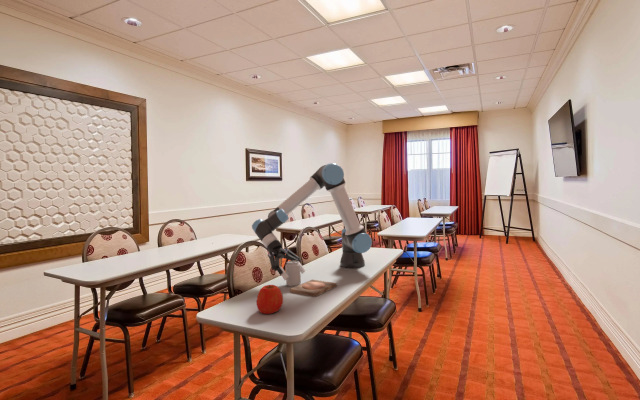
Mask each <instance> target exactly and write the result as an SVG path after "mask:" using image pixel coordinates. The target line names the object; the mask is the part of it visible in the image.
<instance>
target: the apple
mask: <svg viewBox="0 0 640 400" xmlns="http://www.w3.org/2000/svg"><path fill="white" fill-rule="evenodd" d="M283 303H284V297H283V293H282V291H281V288H279V287H278V286H277V285H274V284H267V285H264V286H262V287H261V288H260V289H259V291H258V293H257V297H256V307H257V310H258V311H259V312H260V314H264V315H270V314H273V313H277V312H278V311H279V310H280V309H281V307H282V306H283Z"/></svg>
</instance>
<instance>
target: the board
mask: <svg viewBox="0 0 640 400" xmlns="http://www.w3.org/2000/svg"><path fill="white" fill-rule="evenodd" d="M337 286H338V282H331V281H325V280H318V279H309V280H308V281H305V282H302V283H300V284H299V285H298V286H295V287H290V288H289V292H290V293H293V294H299V295H304V296H310V297H318V296H320V295H321V294H324V293H326V292H328V291H330V290H331V289H335V288H336V287H337Z"/></svg>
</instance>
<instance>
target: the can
mask: <svg viewBox="0 0 640 400" xmlns="http://www.w3.org/2000/svg"><path fill="white" fill-rule="evenodd" d="M284 271H285V272H286V274H287V275H288V276H289V277H288V278H287V279H286V280H285V284H286V285H287V287H290V288H293V287H296V286H298V285H300V284H302V280H301V277H302V276H301V275H302V274H301V272H300V264H299V263H298V261H290V260H288V261H286V262H285V269H284Z"/></svg>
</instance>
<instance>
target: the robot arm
mask: <svg viewBox="0 0 640 400" xmlns="http://www.w3.org/2000/svg"><path fill="white" fill-rule="evenodd" d="M345 186H346V181H345V173H344V169H343V167H342V166H340V165H339V164H337V163H331V162H330V163H327V164H325V165H321V166H320V167H319V168H318V169H317V170H316V171H315V172H314V173H313V174H312V175H311V176H310V177H309V180H308V181H307V182H305V183H304V184H303V185H301V187H299V188H298V189H297V190H296V191H294V192H293V193H292V194H291V195H290V196H288V198H286V199H285V200H284V201H283V202H281V203H280V204H279V205H278V206H277V207H276V208H275V209H273V210H271V211H270V212H269V213H268V215H267V218H266V219H263V218H259V219H256V220H255V221H254V222H253V223H252V225H251V229H252V230H253V232H254V233H255V235H256V236H257V237H258V239H259V240H260V242H261V243H262V244H263V245H264V247H265V248H266V250H267V251H268V254H267V257H268V258H269V263H270V267H271V270H273V271H274V272H277V273H278V274H279V275H280V276H281V278H283V280H284V281H286V279H287V278H288V277H289V276H288V275H287V274H286V270H285V269H284V268H283V267H282V266H280V260H281V259H287V260H288V261H298V263H299V264H300V274H301V275H303V274H304V273H305V271H306V268H305V267H303V266H304V265H303V264H302V263H301V262H300V260H301V257H300V256H298V255H297V254H295V253H294V252H293V251H292V250H290V249H289V248H288V247H287V246H286V247H285V248H283V245H282V242H280V240H279V239H278V237H277V236H276V234H274V231H275V230H277V229H278V228H279V227H280V226H282V225H283V224H286V222H287V221H288V220H289V219H290V218H289V216H288V215H289V214H290V213H292V212H293V211H294V210H296V209H297V207H299V206H300V205H301V204H302V203H304V202H305V201H306V200H307V199H308V198H310V197H312V196H313V194H315V193H316V192H317V191H318V190H322V189H323V188H325V190H326V192H329V193H330V194H331V197H332V200H333V202H334V204H335V206H336V209H337V211H338V214H339V216H340V218H341V222H342V223H343V226H344V228H342V229H341V243H342V244H341V247H342V248H341V249H342V254H341V258H340V262H339V266H340V265H341V268H347V269H348V268H349V269H353V268H361V267H364V266H366V261H365V259H364V256H363V254H365V253H367V252H369V250H370V249H371V247H372V245H373V240H372V237H371V236H370V235H369V233H367V231H366V229H365V226H364V225H362V224H360V221H359V219H358V216H357V214H356V211H355V209H354V207H353V204H352V201H351V199H350V197H349V195H348V191H347V190H346V187H345Z"/></svg>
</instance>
